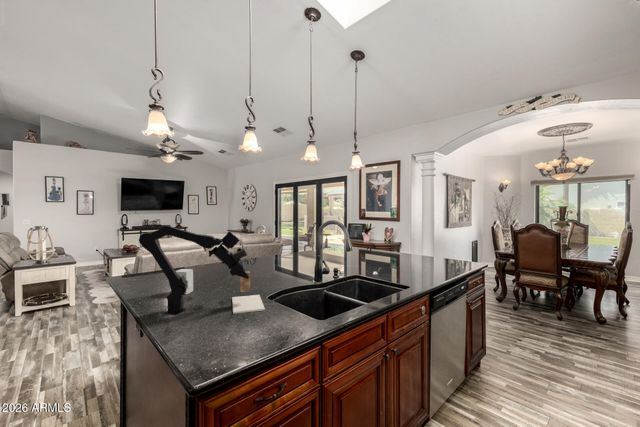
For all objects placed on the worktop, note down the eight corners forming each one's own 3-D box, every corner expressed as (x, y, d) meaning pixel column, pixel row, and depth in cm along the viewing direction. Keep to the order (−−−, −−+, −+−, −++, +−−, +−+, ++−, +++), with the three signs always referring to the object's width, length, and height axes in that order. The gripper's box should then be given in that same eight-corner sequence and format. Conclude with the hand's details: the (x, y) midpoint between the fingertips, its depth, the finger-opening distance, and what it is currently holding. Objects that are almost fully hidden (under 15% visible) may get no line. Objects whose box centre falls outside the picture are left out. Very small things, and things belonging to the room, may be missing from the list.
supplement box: (193, 290, 158) (193, 269, 158) (186, 294, 151) (186, 271, 151) (181, 290, 159) (181, 268, 159) (173, 294, 152) (173, 271, 152)
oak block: (240, 292, 133) (240, 273, 133) (240, 289, 138) (240, 271, 137) (250, 291, 135) (250, 272, 135) (249, 288, 139) (249, 271, 139)
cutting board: (233, 313, 124) (233, 312, 124) (232, 298, 145) (232, 297, 145) (264, 310, 129) (264, 308, 128) (259, 296, 149) (259, 294, 149)
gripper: (237, 246, 126) (262, 268, 129) (236, 241, 143) (257, 261, 147) (219, 264, 123) (244, 286, 127) (220, 257, 141) (242, 277, 145)
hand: (248, 276), depth 137 cm, fingers closed on oak block, 4 cm apart
